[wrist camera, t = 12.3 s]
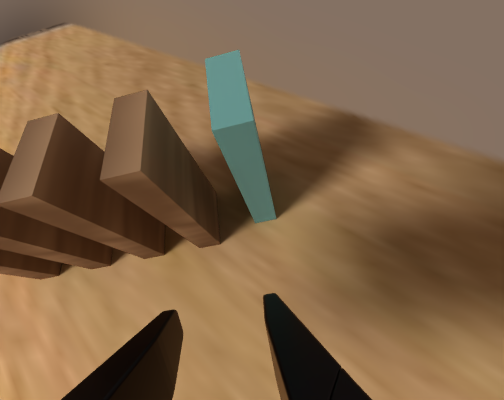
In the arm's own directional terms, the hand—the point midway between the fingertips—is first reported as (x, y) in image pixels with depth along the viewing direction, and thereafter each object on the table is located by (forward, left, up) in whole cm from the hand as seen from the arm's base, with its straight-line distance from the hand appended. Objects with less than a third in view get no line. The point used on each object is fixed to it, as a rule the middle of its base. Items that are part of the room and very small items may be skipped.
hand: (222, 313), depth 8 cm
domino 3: (-1, +10, -8) cm, 13 cm away
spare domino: (+6, +6, -8) cm, 12 cm away
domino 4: (+2, +7, -8) cm, 11 cm away
